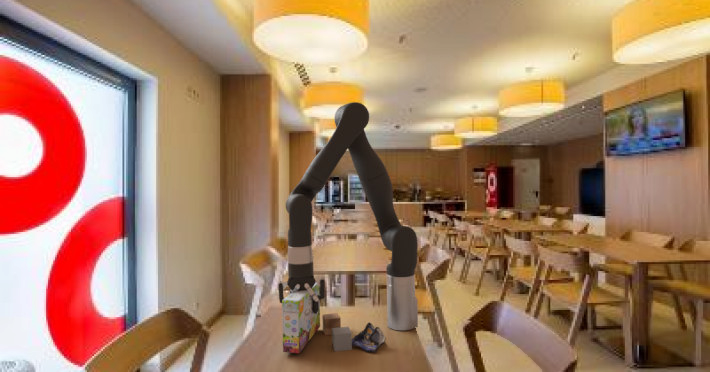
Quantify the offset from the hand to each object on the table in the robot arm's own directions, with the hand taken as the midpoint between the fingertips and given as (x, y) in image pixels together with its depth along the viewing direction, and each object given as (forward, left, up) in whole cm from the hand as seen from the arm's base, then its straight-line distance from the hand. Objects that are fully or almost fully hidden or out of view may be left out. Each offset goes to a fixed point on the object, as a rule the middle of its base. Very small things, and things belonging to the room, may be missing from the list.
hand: (302, 314), depth 131 cm
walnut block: (-10, -6, -9) cm, 14 cm away
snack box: (0, 0, -8) cm, 8 cm away
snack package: (-19, +8, -9) cm, 23 cm away
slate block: (-10, +7, -9) cm, 15 cm away
